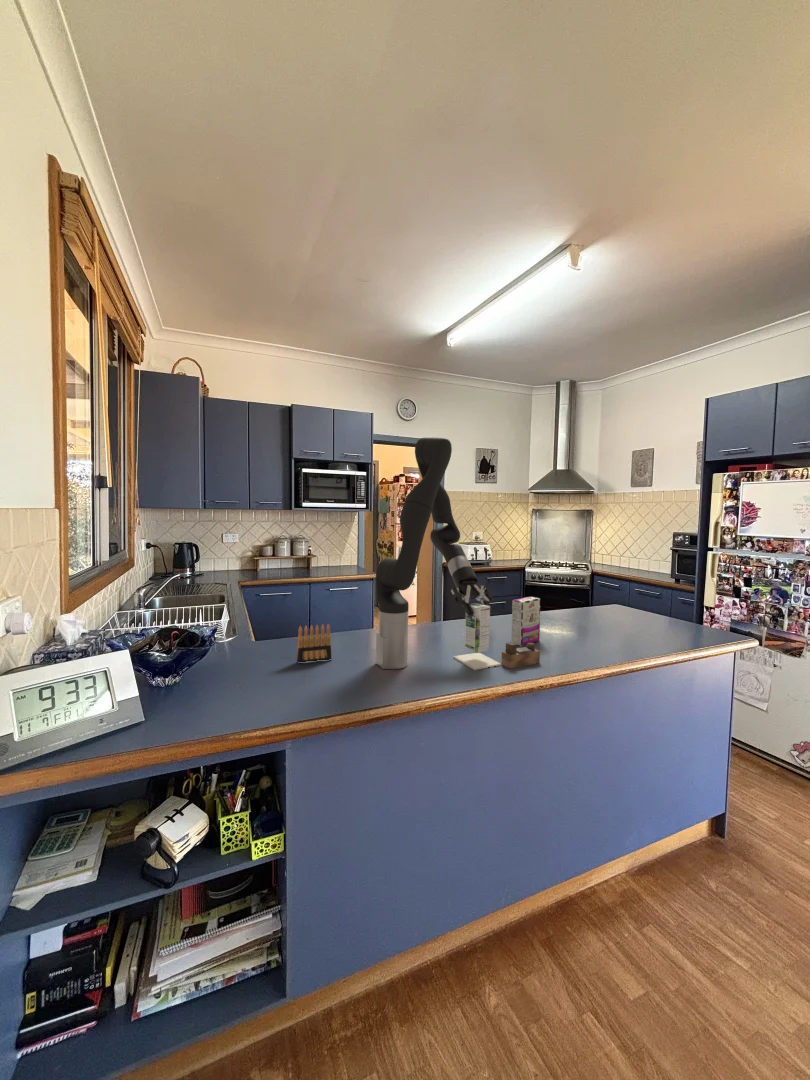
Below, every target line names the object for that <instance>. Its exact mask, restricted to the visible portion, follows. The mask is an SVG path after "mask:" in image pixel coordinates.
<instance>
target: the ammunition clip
mask: <svg viewBox="0 0 810 1080" xmlns="http://www.w3.org/2000/svg"><path fill="white" fill-rule="evenodd" d="M325 631H326V632H325ZM308 632H309V633H308ZM297 633H298V634H297V649H296V650H297V651H296V662H297V661H298V662H306V661H317V660H329V659H332V639H331V638H332V635H331V627H330V623H327V625H326V630H325V624H324V623H322V624H321V626H320V628H319V625H318V624H316V625H315V629H314V628H313V625H312V624H310V627H309V631H308V627H307V625H305V626H304V630H303V628H302V626H301V625H299V627H298V632H297Z"/></svg>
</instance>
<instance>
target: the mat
mask: <svg viewBox="0 0 810 1080" xmlns="http://www.w3.org/2000/svg"><path fill="white" fill-rule="evenodd" d="M453 658H454V659H455V660H456V661H458V662H459V663H462V664H463V665H464V666H466V667H468V668H470V669H471V670H472V671H477V670H483V669H488V667H490V668H495V667H494V666H496V667H501V666H502V664H501V662H499V661H497V660H495V659H492V658H491V657H489V656H486V655H485V654H483V653H481V652H479V653H476V652H474V653H473V652H472V653H468V654H467V653H466V654H459V655H453Z"/></svg>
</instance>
